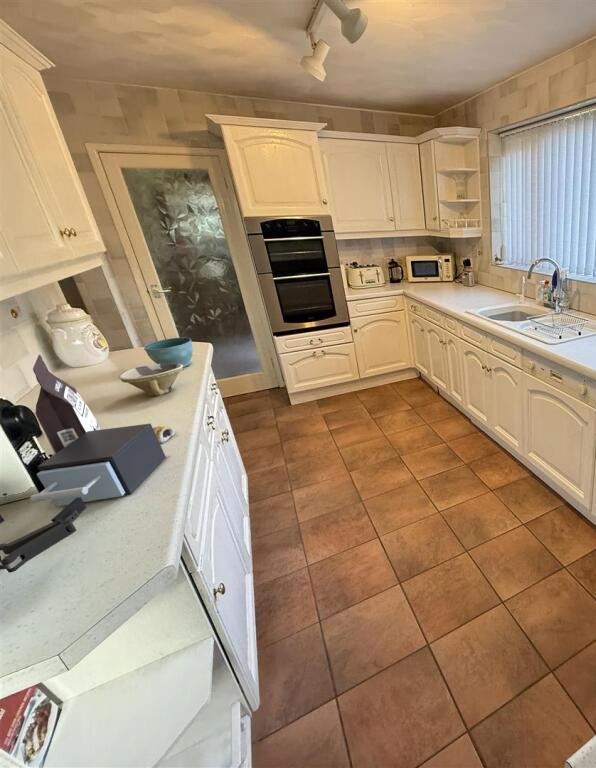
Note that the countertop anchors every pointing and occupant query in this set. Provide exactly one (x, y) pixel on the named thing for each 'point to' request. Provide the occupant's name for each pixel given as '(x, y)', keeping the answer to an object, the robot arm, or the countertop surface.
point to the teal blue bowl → (171, 351)
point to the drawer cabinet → (114, 453)
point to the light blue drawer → (79, 483)
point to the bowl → (153, 377)
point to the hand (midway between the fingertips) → (41, 508)
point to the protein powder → (61, 409)
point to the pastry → (163, 433)
